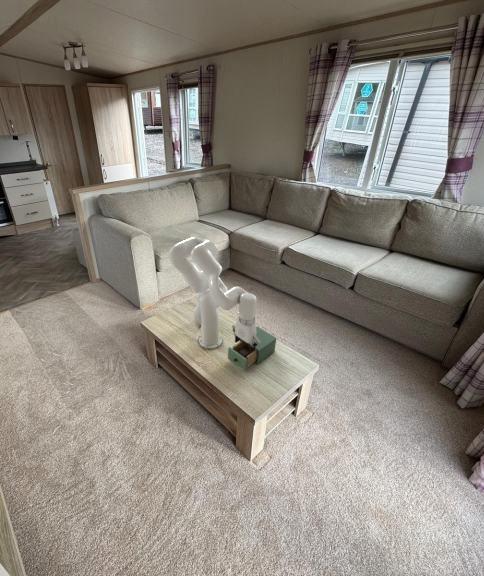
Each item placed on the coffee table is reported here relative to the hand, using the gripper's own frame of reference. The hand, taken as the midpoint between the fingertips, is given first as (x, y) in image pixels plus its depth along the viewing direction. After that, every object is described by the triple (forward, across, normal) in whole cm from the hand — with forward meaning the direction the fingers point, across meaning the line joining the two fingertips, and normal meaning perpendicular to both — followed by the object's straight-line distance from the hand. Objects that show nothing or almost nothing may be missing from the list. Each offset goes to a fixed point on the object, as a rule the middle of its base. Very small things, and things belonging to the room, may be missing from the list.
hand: (244, 346), depth 148 cm
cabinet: (+10, 0, +10) cm, 14 cm away
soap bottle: (+10, -37, +7) cm, 39 cm away
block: (+8, 0, 0) cm, 8 cm away
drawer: (+9, 0, 0) cm, 9 cm away
